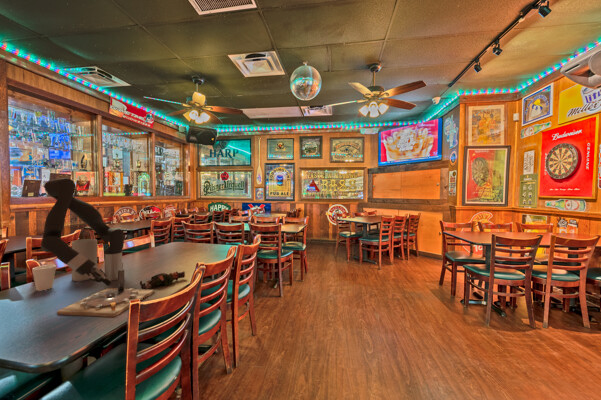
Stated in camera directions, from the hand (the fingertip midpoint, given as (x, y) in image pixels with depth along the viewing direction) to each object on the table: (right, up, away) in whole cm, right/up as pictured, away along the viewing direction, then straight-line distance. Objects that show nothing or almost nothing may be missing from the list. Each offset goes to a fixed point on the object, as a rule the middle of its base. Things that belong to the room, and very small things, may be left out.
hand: (110, 283), depth 133 cm
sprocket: (+6, -5, -7) cm, 11 cm away
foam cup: (-46, -6, +9) cm, 47 cm away
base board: (+6, -7, -7) cm, 11 cm away
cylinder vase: (-39, -6, +27) cm, 48 cm away
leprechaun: (+18, -7, +20) cm, 28 cm away
